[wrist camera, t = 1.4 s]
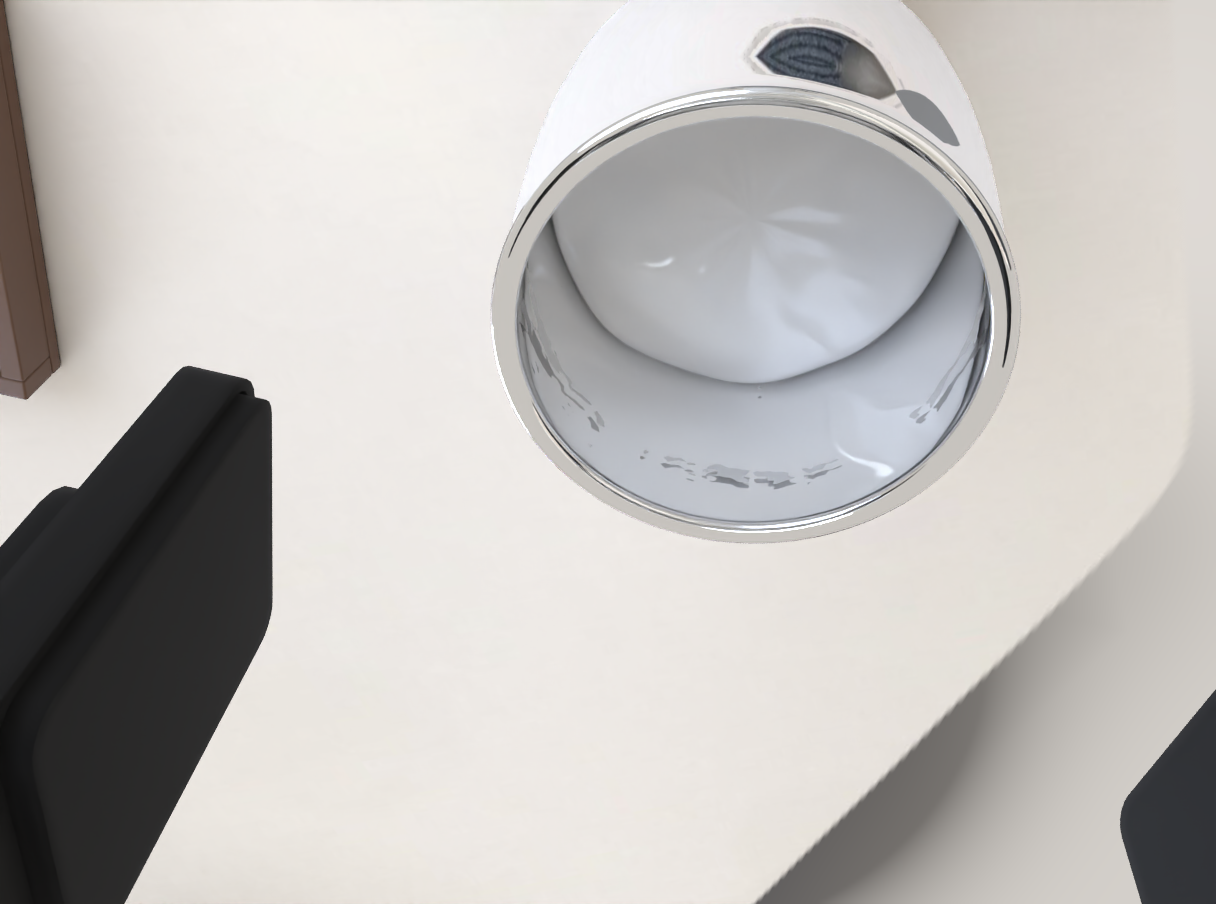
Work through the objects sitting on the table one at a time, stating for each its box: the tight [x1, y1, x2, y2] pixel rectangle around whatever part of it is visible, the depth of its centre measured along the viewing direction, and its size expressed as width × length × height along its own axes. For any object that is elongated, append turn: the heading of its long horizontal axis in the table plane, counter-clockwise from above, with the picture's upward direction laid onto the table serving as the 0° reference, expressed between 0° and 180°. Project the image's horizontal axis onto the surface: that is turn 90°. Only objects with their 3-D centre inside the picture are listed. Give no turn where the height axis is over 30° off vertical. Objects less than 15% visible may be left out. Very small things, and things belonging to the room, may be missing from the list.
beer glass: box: [491, 0, 1021, 544], centre depth 19 cm, size 7×7×15 cm
